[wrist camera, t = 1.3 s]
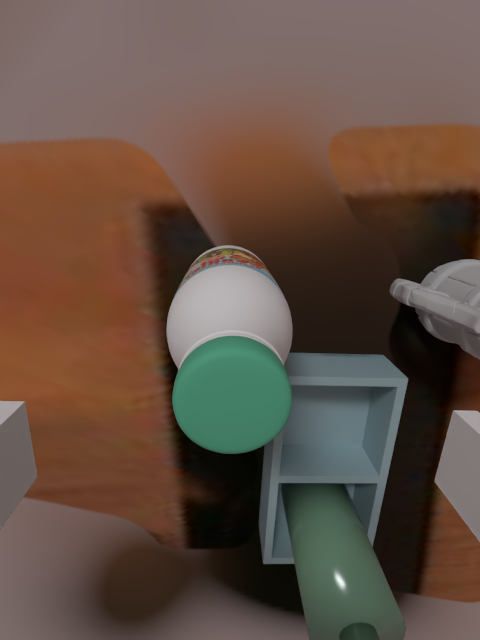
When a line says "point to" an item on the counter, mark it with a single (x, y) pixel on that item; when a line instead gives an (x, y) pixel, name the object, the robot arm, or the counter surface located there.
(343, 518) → the green bottle
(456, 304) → the mug
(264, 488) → the crate
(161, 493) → the counter surface
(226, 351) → the milk bottle
